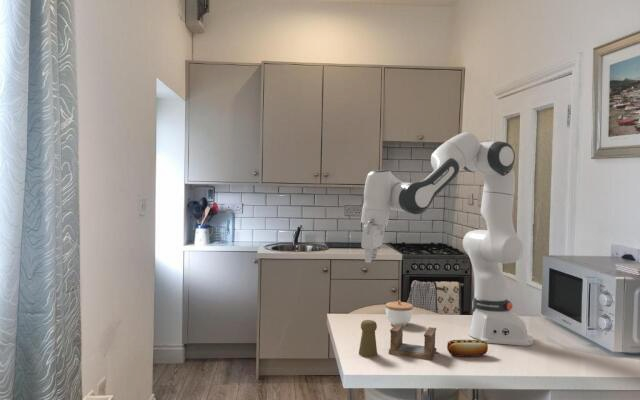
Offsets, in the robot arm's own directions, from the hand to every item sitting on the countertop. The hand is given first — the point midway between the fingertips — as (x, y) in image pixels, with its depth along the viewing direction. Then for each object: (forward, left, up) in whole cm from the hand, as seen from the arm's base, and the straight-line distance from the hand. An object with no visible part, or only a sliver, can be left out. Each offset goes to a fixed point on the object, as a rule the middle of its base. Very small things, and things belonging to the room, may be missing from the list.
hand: (370, 261), depth 167 cm
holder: (-13, -6, -30) cm, 34 cm away
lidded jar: (-1, -38, -30) cm, 49 cm away
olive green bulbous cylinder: (0, +2, -30) cm, 30 cm away
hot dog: (-30, -11, -31) cm, 45 cm away
